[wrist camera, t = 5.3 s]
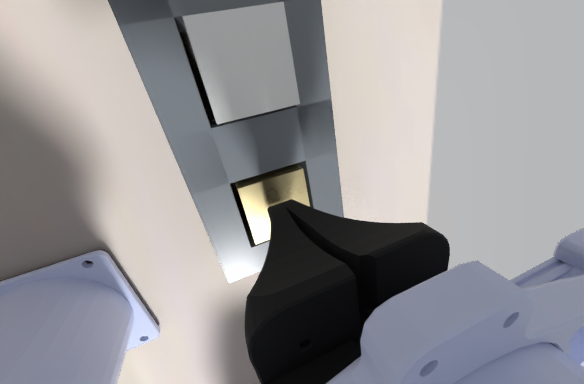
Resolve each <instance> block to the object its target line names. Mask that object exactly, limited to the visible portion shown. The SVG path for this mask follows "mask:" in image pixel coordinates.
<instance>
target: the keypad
mask: <svg viewBox="0 0 584 384" xmlns="http://www.w3.org/2000/svg"><path fill="white" fill-rule="evenodd" d="M108 2H109V4H110V6H111V9H112V11H113V13H114V16H115V18H116V20H117V23H118V25H119V27H120V30H121V32H122V34H123V37H124V39H125V41H126V44H127V46H128V48H129V51H130V53H131V55H132V58H133V60H134V62H135V65H136V67H137V69H138V72H139V74H140V77H141V79H142V81H143V84H144V86H145V88H146V91H147V93H148V95H149V98H150V100H151V102H152V105H153V107H154V109H155V112H156V114H157V116H158V119H159V121H160V123H161V126H162V128H163V130H164V133H165V135H166V137H167V140H168V142H169V144H170V147H171V149H172V151H173V154H174V156H175V159H176V161H177V163H178V166H179V168H180V170H181V173H182V175H183V177H184V180H185V182H186V184H187V187H188V189H189V191H190V194H191V196H192V198H193V201H194V203H195V205H196V208H197V210H198V212H199V215H200V217H201V219H202V222H203V224H204V226H205V229H206V231H207V233H208V236H209V238H210V241H211V243H212V245H213V248H214V250H215V252H216V255H217V257H218V259H219V262H220V264H221V266H222V269H223V271H224V273H225V276H226V278H227V280H228V283H231V282H234V281H237V280H239V279H242V278H244V277H247V276H249V275H252V274H254V273H257V272H259V271H261V270H262V267H263V265H264V262H265V259H266V255H267V252H268V247H269V242H270V239H269V240H267V241H264V242H261V243H258V244H255V241H254V238H253V235H252V233H251V230H250V227H249V224H248V221H247V222H244V223H243V220H242V218H241V215H240V212H239V209H238V206H237V203H236V200H235V197H234V194H233V191H232V188H231V185H230V183H233V182H237V181H240V180H243V179H246V178H250V177H253V176H256V175H260V174H263V173H266V172H269V171H273V170H276V169H279V168H283V167H286V166H289V165H293V164H296V163H297V164H298V165H299V166H301V167H302V168H303V170H304V176H305V181H306V187H307V192H308V198H309V204H310V207H312V208H314V209H317V210H320V211H323V212H325V213H329V214H332V215H335V216H339V217H344V214H343V205H342V195H341V186H340V177H339V167H338V158H337V148H336V139H335V129H334V120H333V111H332V101H331V92H330V82H329V73H328V63H327V54H326V45H325V35H324V26H323V16H322V7H321V0H108ZM277 2H284V8H285V14H286V20H287V26H288V32H289V38H290V45H291V51H292V57H293V63H294V69H295V75H296V81H297V88H298V94H299V100H300V104H298V105H294V106H290V107H286V108H282V109H278V110H274V111H270V112H266V113H262V114H258V115H254V116H249V117H245V118H241V119H237V120H233V121H229V122H225V123H221V124H217V123H216V120H215V119H213V120H209V119H208V116H207V113H206V110H205V107H204V104H203V101H202V98H201V95H200V92H199V89H198V86H197V83H196V80H195V77H194V74H193V71H192V68H191V65H190V62H189V59H188V56H187V53H186V50H185V48H184V45H183V42H182V39H181V36H180V33H182V32H186V28H185V24H184V21H183V17H182V16H188V15H195V14H201V13H208V12H215V11H222V10H229V9H236V8H243V7H250V6H257V5H264V4H270V3H277Z"/></svg>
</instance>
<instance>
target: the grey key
mask: <svg viewBox="0 0 584 384" xmlns="http://www.w3.org/2000/svg"><path fill="white" fill-rule="evenodd" d="M182 17H183V21H184V24H185V28H186V32H187V36H188V39H189V42H190V45H191V48H192V51H193V54H194V57H195V60H196V63H197V66H198V69H199V73H200V76H201V79H202V82H203V85H204V88H205V91H206V94H207V97H208V100H209V103H210V106H211V110H212V113H213V116H214V118H215V120H216V123H217V124H221V123H225V122H229V121H233V120H237V119H241V118H245V117H249V116H254V115H258V114H262V113H266V112H270V111H274V110H278V109H282V108H286V107H290V106H294V105H298V104H300V100H299V94H298V88H297V81H296V75H295V69H294V63H293V57H292V51H291V45H290V38H289V32H288V26H287V20H286V14H285V8H284V2H277V3H270V4H264V5H257V6H250V7H243V8H236V9H229V10H222V11H215V12H208V13H201V14H195V15H188V16H182Z"/></svg>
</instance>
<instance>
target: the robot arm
mask: <svg viewBox="0 0 584 384" xmlns="http://www.w3.org/2000/svg"><path fill="white" fill-rule="evenodd" d="M267 211H268V214H269V218H270V222H271V232H270V242H269V247H268V252H267V255H266V259H265V262H264V265H263V267H262V270H261V272H260V274H259V277H258V279H257V281H256V283H255V284H254V286H253V288H252V290H251V291H250V293H249V295H248V296H247V301H246V311H245V338H246V344H247V348H248V353H249V357H250V360H251V363H252V365H253V367H254V369H255V371H256V373H257V376H258V378H259V380H260V382H261V384H584V228H583V229H580V230H578V231H576V232H574V233H572V234H570V235H568V236H566V237H564V238H563V239H561V240H560V242H559V243H558V244H557V246H556V248H555V251H554V254H553V255H554V257H552V258H551V259H549V260H547V261H545V262H543V263H541V264H539V265H538V266H536V267H534V268H532V269H530V270H528V271H526V272H525V273H523V274H521V275H519V276H517V277H515V278H513V279H512V280H510V281H509V280H508V279H506V278H504V277H503V276H501V275H500V274H498V273H496V272H495V271H493V270H492V269H490V268H488V267H487V266H485V265H483V264H482V263H480V262H479V261H471V262H467V263H463V264H459V265H457V266H455V267H453V268H451V269H449V270H447V269H448V262H449V255H450V253H449V252H450V247H449V243H448V241H447V239H446V238H445V237H444V236H443V235H442V234H440V233H439V232H437V231H436V230H434V229H432V228H431V227H429V226H427V225H426V224H424V223H422V222H419V223H378V222H367V221H359V220H353V219H348V218H344V217H339V216H335V215H332V214H329V213H325V212H323V211H320V210H317V209H314V208H312V207H309V206H307V205H305V204H302V203H300V202H298V201H295V200H293V199H290V200H288V201H285V202H282V203H279V204H276V205H273V206H270V207H268V209H267ZM87 260H88V261H91V262H93V264H88V263H86V262H85V261H87ZM159 334H160V328H159V326H158V325H157V324H156V322H155V321H154V319H153V318H152V316H151V315H150V313H149V312H148V311H147V309H146V308H145V306H144V305H143V303H142V302H141V300H140V299H139V297H138V296H137V295H136V293H135V292H134V290H133V289H132V287H131V286H130V284H129V283H128V282H127V280H126V279H125V277H124V276H123V274H122V273H121V271H120V270H119V268H118V267H117V266H116V264H115V263H114V261H113V260H112V258H111V257H110V255H109V254H108V253H107V252H105V251H102V250H97V251H93V252H90V253H87V254H84V255H80V256H77V257H74V258H71V259H68V260H65V261H62V262H59V263H56V264H53V265H50V266H47V267H44V268H40V269H37V270H34V271H31V272H28V273H25V274H22V275H19V276H16V277H13V278H10V279H7V280H4V281H0V384H117V382H118V379H119V375H120V372H121V368H122V365H123V361H124V357H125V354H126V351H128V350H130V349H132V348H135V347H137V346H140V345H142V344H144V343H147V342H149V341H152V340H154V339H156V338H157V337H158V336H159Z"/></svg>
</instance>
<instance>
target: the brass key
mask: <svg viewBox="0 0 584 384" xmlns="http://www.w3.org/2000/svg"><path fill="white" fill-rule="evenodd" d="M235 184H236V187H237V190H238V194H239V197H240V200H241V203H242V206H243V209H244V212H245V215H246V218H247V221H248V224H249V227H250V230H251V233H252V235H253V238H254V241H255V244H258V243H261V242H264V241H267V240H269V239H270V232H271V222H270V218H269V214H268V211H267V209H268V207H270V206H273V205H276V204H279V203H282V202H285V201H288V200H290V199H293V200H295V201H298V202H300V203H302V204H305V205H307V206H309V207H310V204H309V198H308V192H307V187H306V181H305V176H304V170H303V168H302V167H301V166H299V165H298V164H297V163H296V164H293V165H289V166H286V167H283V168H279V169H276V170H273V171H269V172H266V173H263V174H260V175H256V176H253V177H250V178H246V179H243V180H240V181H237V182H235Z"/></svg>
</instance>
